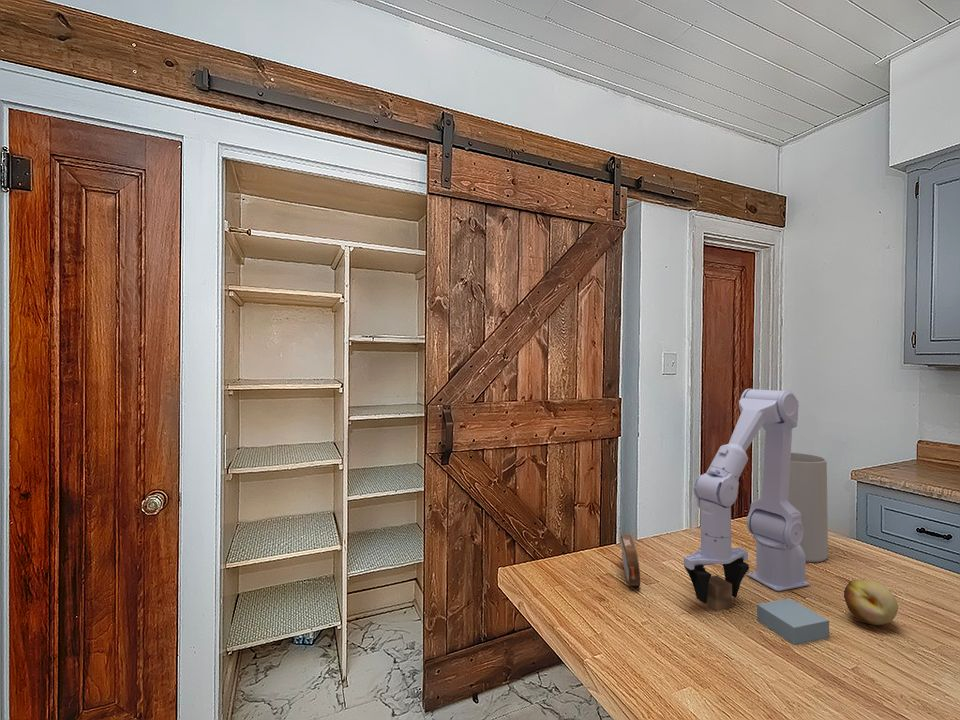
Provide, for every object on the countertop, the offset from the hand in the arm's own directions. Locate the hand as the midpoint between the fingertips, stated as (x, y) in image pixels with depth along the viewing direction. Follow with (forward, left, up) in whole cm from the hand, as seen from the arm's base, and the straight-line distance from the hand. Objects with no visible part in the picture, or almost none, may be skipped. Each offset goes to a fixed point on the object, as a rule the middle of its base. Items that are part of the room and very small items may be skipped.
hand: (716, 597), depth 95 cm
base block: (-7, +11, -2) cm, 13 cm away
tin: (+10, -16, -2) cm, 19 cm away
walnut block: (0, 0, -2) cm, 2 cm away
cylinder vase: (-39, -14, -2) cm, 41 cm away
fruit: (-23, +14, -2) cm, 27 cm away
